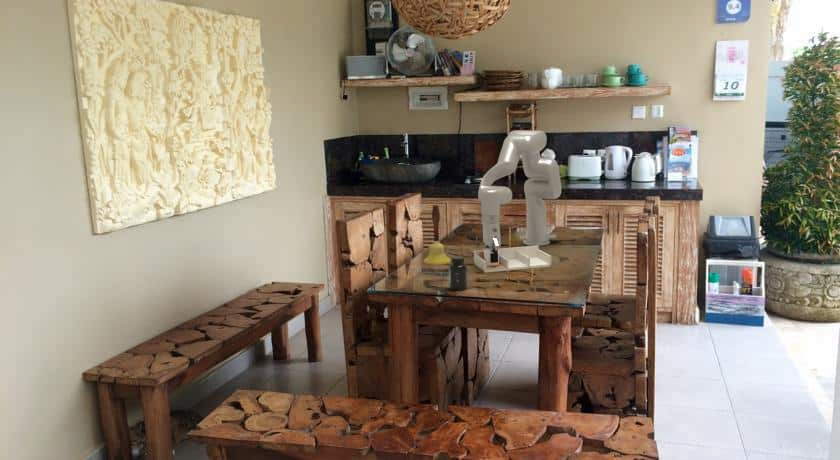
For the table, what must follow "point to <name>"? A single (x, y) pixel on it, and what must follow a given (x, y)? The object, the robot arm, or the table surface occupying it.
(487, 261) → the white and grey cylinder
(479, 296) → the table surface
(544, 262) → the rack
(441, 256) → the handbell
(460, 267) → the supplement bottle
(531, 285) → the table surface
